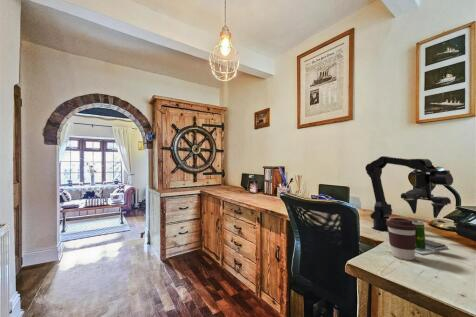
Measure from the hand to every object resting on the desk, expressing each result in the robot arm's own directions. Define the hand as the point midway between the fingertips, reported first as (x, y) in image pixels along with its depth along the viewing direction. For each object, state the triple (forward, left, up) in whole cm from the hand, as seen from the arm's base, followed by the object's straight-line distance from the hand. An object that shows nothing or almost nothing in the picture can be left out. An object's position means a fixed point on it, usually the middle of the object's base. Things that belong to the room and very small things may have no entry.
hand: (424, 215), depth 100 cm
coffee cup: (+10, -28, -13) cm, 32 cm away
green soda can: (+6, -14, -13) cm, 19 cm away
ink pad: (+4, -4, -13) cm, 14 cm away
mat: (+6, -14, -13) cm, 20 cm away
